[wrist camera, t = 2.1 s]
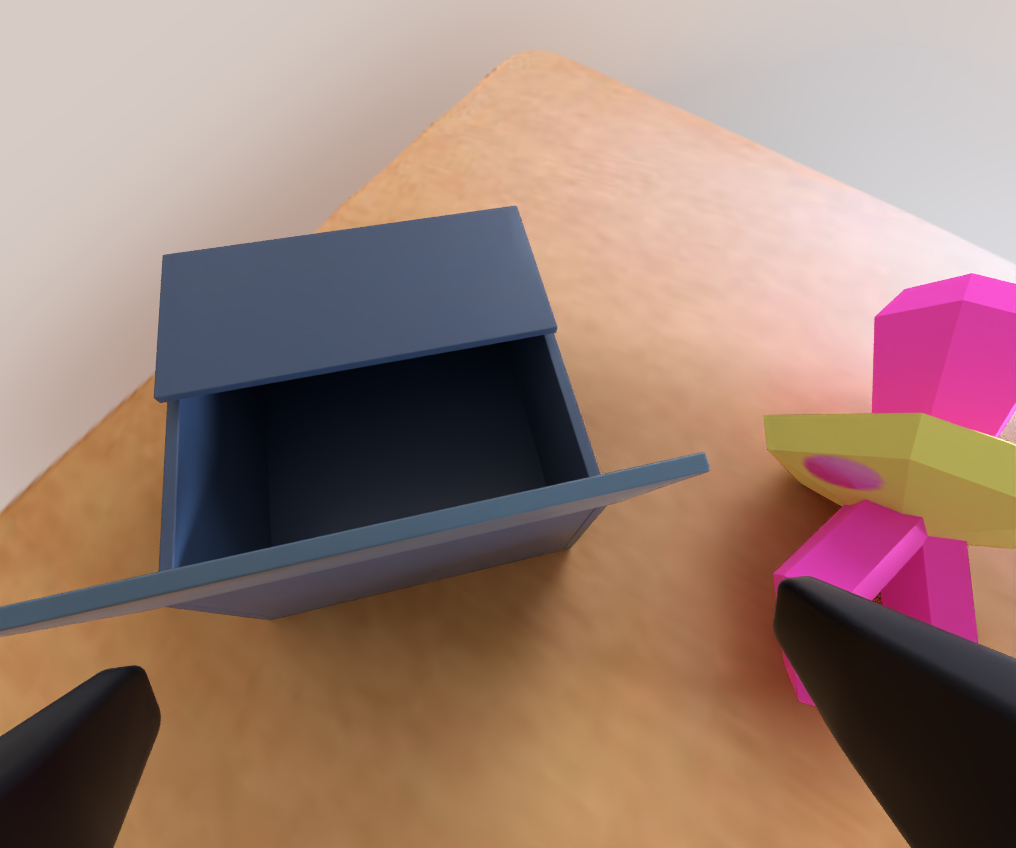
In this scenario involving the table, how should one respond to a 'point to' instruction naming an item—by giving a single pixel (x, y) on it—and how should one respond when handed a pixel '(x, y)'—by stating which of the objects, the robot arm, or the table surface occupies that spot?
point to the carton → (361, 401)
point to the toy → (915, 457)
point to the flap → (342, 548)
